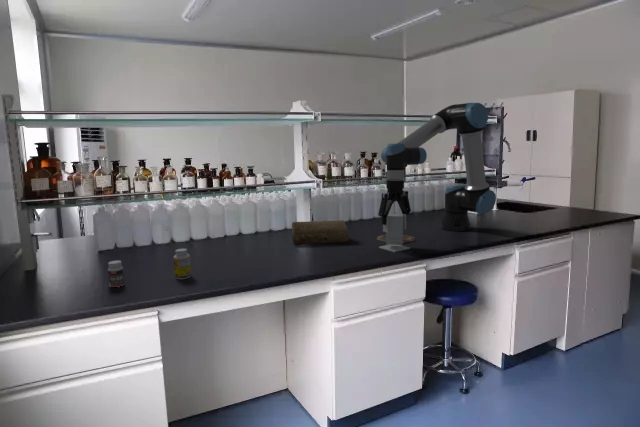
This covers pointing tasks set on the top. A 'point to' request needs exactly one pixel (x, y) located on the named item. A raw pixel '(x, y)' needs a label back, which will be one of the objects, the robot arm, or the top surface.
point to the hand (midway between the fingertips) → (394, 230)
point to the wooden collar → (406, 239)
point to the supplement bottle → (182, 264)
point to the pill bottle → (115, 274)
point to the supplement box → (395, 230)
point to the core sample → (319, 232)
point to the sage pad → (394, 248)
